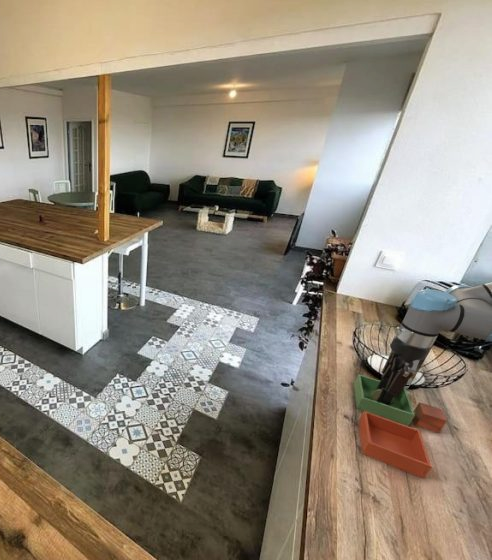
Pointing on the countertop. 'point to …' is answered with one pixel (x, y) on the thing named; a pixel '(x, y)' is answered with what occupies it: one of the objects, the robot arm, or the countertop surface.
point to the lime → (377, 394)
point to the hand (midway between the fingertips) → (379, 401)
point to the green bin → (395, 412)
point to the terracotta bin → (394, 444)
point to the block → (429, 417)
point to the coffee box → (415, 369)
